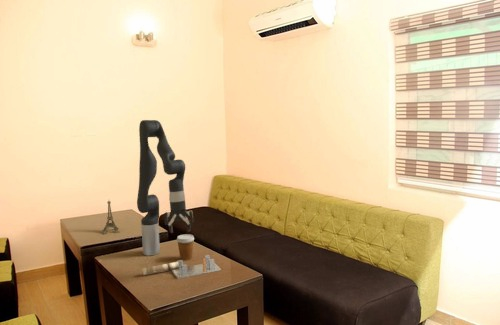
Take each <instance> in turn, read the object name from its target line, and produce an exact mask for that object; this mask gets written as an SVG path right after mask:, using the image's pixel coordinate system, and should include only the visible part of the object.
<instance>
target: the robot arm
mask: <svg viewBox="0 0 500 325" xmlns="http://www.w3.org/2000/svg"><path fill="white" fill-rule="evenodd" d="M138 126H139V129H138V131H139V134H138V135H139V169H138V170H139V171H138V172H139V175H138V177H139V180H138V181H139V182H138V189H137V190H138V191H137V201H136V207H137V210H138V211H139V212H140V213H142V214H144V213H145V215H144V216H143V217H142V218H141V220H140V223H141V224H140V225H141V237H142V238H141V240H142V254H143V255H144V256H155V255H158V254H160V252H161V250H160V249H161V248H160V247H161V246H160V231H159V219H160V200H159V198H158V196H157V195H156V194H149V191H150V187H151V185H152V184H153V181H154V179H155V178H156V175H157V170H158V166H157V164H158V161H157V158H156V156H155V154H154V153H153V152H152V149H151V148H150V145H149V138H157V140H158V142H157V145H156V151H157V154H158V155H159V158H160V159H161V162H162V168H163V172H164V173H165V174H166V175H168V176H169V175H170V176H172V175H175V177H174V178H173V179H169V180H168V192H169V193H168V194H169V195H168V196H169V207H170V212H168V211H166V212H164V214H163V216H164V225H165V226H168V231H169V233H170V234H173V233H174V229H173V223H174V221H183V222H185V223H186V228H187V229H186V230H187V233H190V231H191V230H192V227H191V225H192V224H193V223H194V221H195V218H194V214H193V213H194V212H193V210H188V211H187V207H186V195H185V190H184V189H185V188H184V179H185V173H186V172H185V171H186V163H185V162H184V160H183V159H176V154H175V152H174V151H173V149H172V147H171V145H170V143H169V142H168V139H167V135H166V134H165V130H164V129H163V126H162V123H161V122H160V121H159V120H157V119H153V120H151V119H143V120H140V123H139V125H138ZM187 215H188V216H189V218H188V217H187ZM169 217H171V219H170V220H169Z"/></svg>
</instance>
